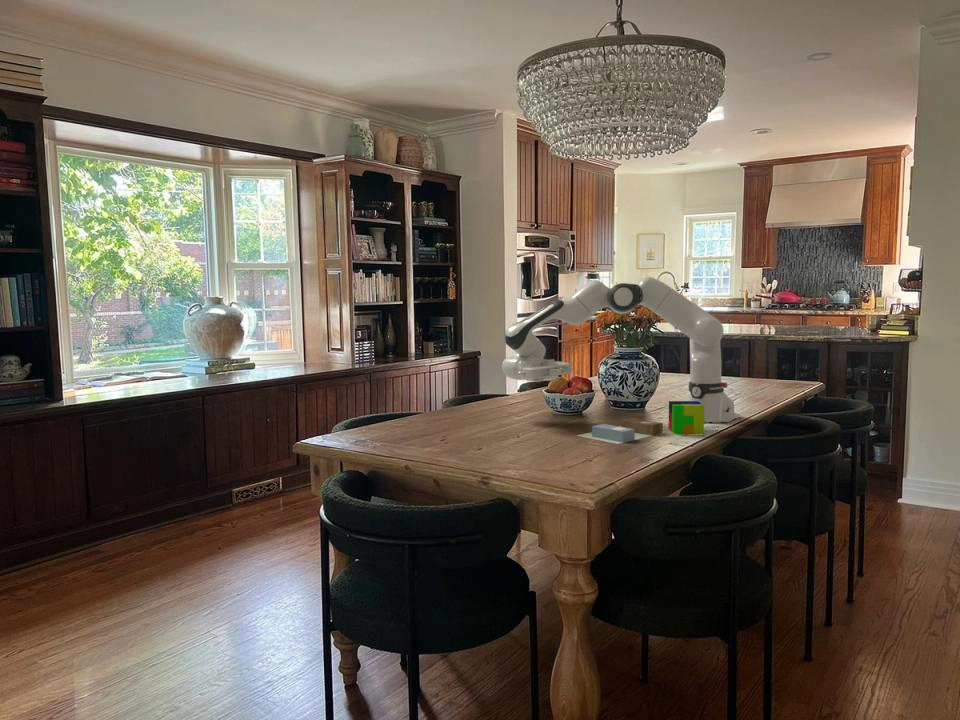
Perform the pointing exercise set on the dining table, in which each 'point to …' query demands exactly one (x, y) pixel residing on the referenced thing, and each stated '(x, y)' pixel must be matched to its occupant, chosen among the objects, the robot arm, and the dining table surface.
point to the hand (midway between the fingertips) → (563, 372)
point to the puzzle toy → (686, 417)
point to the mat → (589, 435)
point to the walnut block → (643, 426)
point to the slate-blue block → (613, 433)
